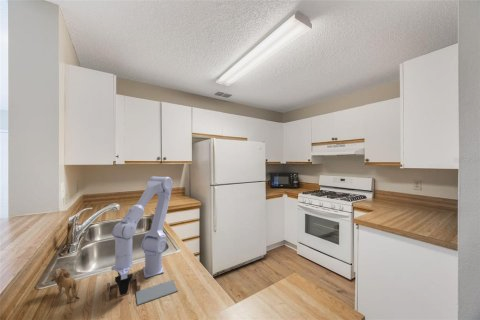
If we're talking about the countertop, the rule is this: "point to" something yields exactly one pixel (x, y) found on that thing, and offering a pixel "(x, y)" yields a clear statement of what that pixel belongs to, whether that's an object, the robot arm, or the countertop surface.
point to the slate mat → (155, 292)
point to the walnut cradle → (117, 285)
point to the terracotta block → (127, 291)
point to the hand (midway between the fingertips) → (123, 288)
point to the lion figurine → (64, 283)
